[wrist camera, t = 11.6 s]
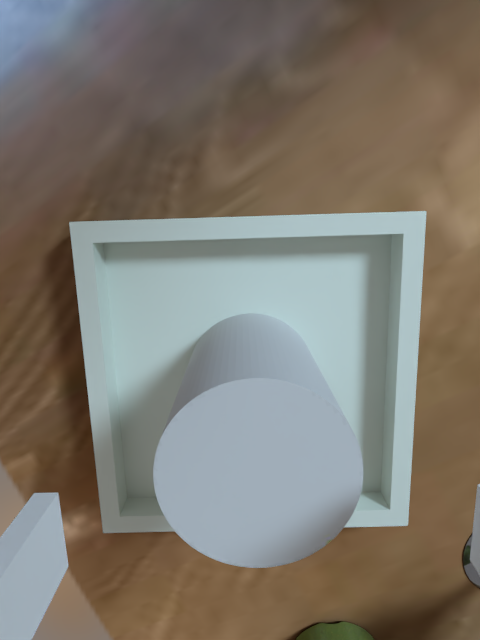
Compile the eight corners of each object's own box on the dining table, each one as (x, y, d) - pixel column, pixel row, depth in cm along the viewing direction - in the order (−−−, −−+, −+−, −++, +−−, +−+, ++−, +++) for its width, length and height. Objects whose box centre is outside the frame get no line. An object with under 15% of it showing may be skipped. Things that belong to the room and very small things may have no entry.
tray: (87, 222, 28) (69, 221, 25) (406, 212, 28) (426, 211, 25) (115, 504, 32) (103, 533, 29) (392, 497, 32) (407, 525, 29)
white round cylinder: (194, 435, 30) (164, 573, 18) (183, 317, 28) (142, 385, 16) (315, 428, 30) (363, 562, 18) (311, 309, 28) (363, 371, 16)
